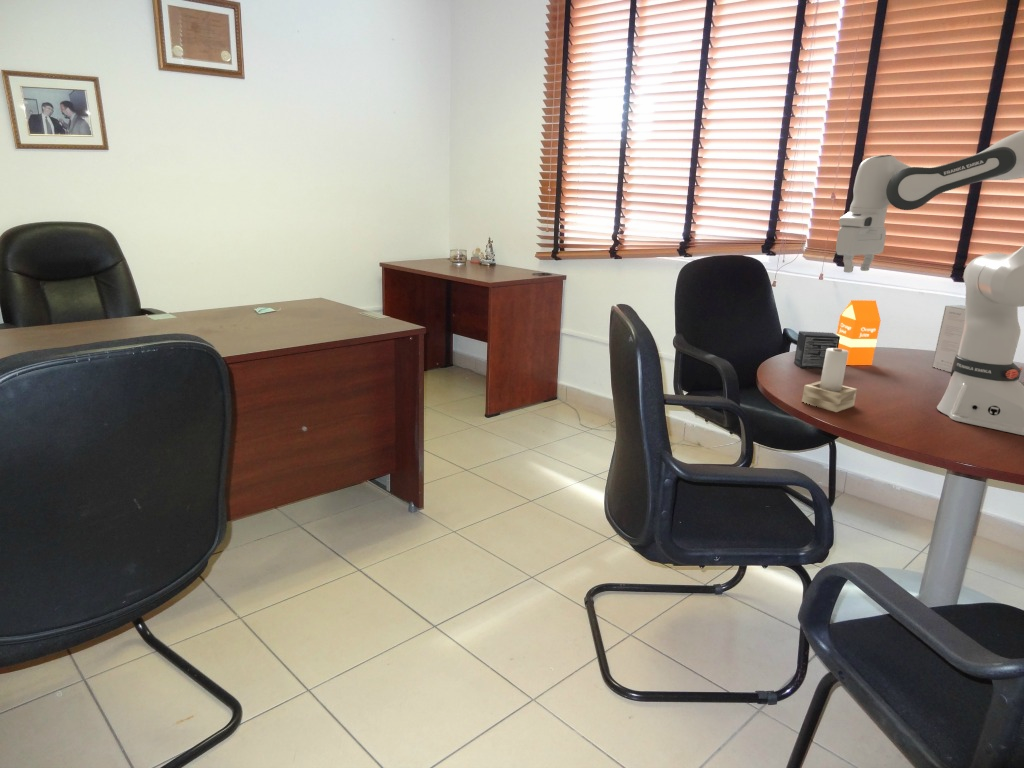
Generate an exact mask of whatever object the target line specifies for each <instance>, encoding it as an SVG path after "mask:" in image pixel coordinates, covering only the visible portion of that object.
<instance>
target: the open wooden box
mask: <svg viewBox="0 0 1024 768" xmlns="http://www.w3.org/2000/svg"><path fill="white" fill-rule="evenodd" d="M820 382H821V380H819V381H815V382H812V383H809V384H804V386H803V393H802V399H801V403H802V402H804V403H803V404H806V403H807V404H806V405H809V404H810V406H813V407H816V406H817V408H820V409H824V410H827V411H831V412H834V413H838V412H841V411H844V410H846V409H850V408H853V407H854V406H855V401H856V398H857V397H856V396H857V394H858V393H857V392H858V388H855V387H850V386H847V385H843V384H842V390H841V392H833V391H829V390H825V389H822V388H820Z"/></svg>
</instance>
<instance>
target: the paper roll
mask: <svg viewBox="0 0 1024 768" xmlns="http://www.w3.org/2000/svg"><path fill="white" fill-rule="evenodd" d="M848 353H849V352H848V351H847V350H844V349H840V348H827V349H826V354H825V360H824V365H823V369H822V371H821V376H820V381H821V382H820V388H822V389H825V390H829V391H833V392H841V390H842V385H843V384H844V378H845V374H846V373H845V372H846V368H847V366H846V363H847V358H848Z"/></svg>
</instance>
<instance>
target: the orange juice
mask: <svg viewBox="0 0 1024 768" xmlns="http://www.w3.org/2000/svg"><path fill="white" fill-rule="evenodd" d="M880 325H881V316H880V312H879V308H878V303H877V301H876V300H873V299H871V300H870V299H869V300H868V299H867V300H863V299H862V300H859V299H858V300H857V299H854V300H853V299H852V300H850V302H849V303H848V304H847V306H846V307H845V308H844V310H843V311H842V313H841V314H839V321H838V325H837V331H836V333H835V334H836V335H838V336H840V340H839V346H838V348H840V349H844V350H847V351H848V352H849V353H848V358H847V363H846V365H873V360H874V355H875V349H876V346H877V343H878V342H877V341H878V336H879V330H880Z"/></svg>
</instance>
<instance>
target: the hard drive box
mask: <svg viewBox="0 0 1024 768" xmlns="http://www.w3.org/2000/svg"><path fill="white" fill-rule="evenodd" d="M941 320H942V321H941V325H940V328H939V334H938V338H937V342H936V347H935V352H934V356H933V359H932V360H933V361H932V364H931V365H932V366H931V367H932V368H933V367H935V368H934V369H937V368H938V370H940V369H941V370H940V371H943V370H945V371H944V372H947V373H951V368H952V364H953V361H954V359H955V356H956V355H958V351H959V347H960V343H961V339H962V334H963V330H964V324H965V305H961V304H960V305H959V304H958V305H956V304H953V305H945V306H944V310H943V315H942V319H941Z"/></svg>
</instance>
